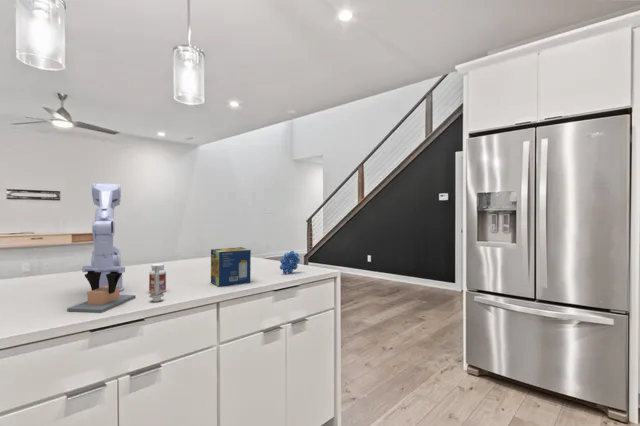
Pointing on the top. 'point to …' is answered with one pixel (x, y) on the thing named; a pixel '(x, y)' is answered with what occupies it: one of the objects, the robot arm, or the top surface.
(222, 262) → the protein box
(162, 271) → the pill bottle
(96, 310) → the rubber mat
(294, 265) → the grapes
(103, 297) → the tan rectangular block
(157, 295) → the white flanged spindle
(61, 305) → the top surface
